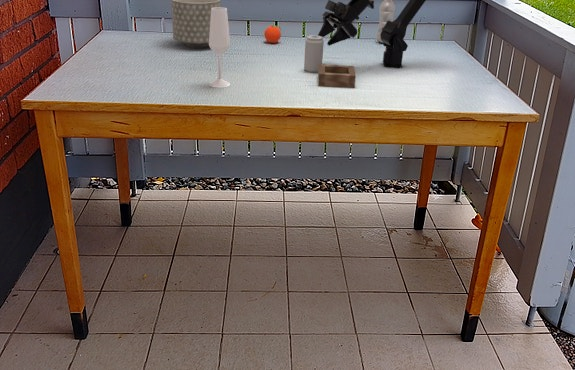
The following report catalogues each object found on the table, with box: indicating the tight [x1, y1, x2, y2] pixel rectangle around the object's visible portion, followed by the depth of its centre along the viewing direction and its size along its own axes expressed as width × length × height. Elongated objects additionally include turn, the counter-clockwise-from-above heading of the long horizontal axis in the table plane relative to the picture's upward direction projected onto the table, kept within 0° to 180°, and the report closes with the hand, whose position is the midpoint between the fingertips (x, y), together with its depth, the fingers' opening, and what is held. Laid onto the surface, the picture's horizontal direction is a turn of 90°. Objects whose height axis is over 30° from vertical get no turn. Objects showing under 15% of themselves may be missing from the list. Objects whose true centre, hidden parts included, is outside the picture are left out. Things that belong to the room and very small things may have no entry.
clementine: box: [263, 25, 282, 44], centre depth 239 cm, size 8×7×7 cm
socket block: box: [317, 63, 357, 89], centre depth 193 cm, size 12×12×4 cm
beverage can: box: [303, 34, 325, 73], centre depth 202 cm, size 6×6×12 cm
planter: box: [170, 0, 222, 49], centre depth 227 cm, size 19×19×18 cm
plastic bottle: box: [375, 0, 396, 44], centre depth 243 cm, size 6×7×20 cm
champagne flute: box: [208, 6, 231, 88], centre depth 181 cm, size 7×7×24 cm
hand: (322, 41), depth 202 cm, fingers open, 9 cm apart
